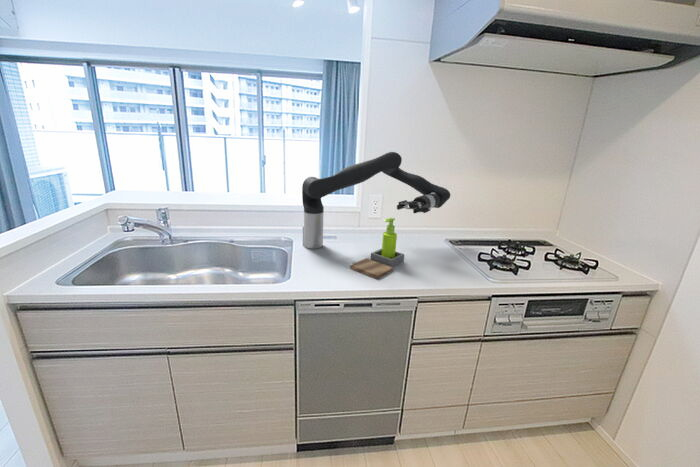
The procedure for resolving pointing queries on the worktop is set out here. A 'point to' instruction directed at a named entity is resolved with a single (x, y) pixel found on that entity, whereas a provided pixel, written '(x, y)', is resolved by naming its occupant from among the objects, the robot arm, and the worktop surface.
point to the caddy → (387, 261)
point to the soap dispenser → (389, 240)
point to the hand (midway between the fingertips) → (405, 209)
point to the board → (371, 268)
